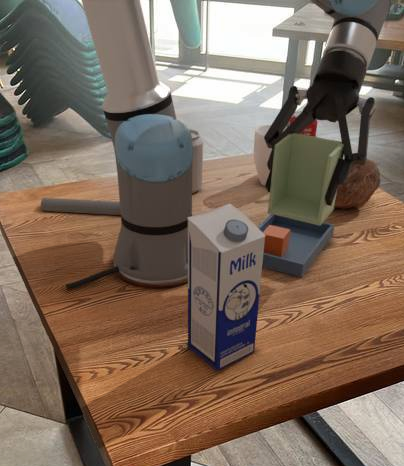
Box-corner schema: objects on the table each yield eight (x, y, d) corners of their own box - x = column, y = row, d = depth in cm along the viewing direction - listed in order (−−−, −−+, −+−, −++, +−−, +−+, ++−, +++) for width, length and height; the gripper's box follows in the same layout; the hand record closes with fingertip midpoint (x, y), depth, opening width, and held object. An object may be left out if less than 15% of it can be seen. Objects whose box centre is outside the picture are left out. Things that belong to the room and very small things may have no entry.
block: (269, 224, 102) (261, 233, 99) (290, 229, 101) (283, 238, 98) (267, 244, 105) (259, 254, 102) (288, 249, 103) (281, 259, 101)
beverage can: (310, 162, 139) (317, 110, 131) (311, 172, 134) (319, 119, 126) (284, 161, 139) (290, 109, 132) (284, 171, 134) (290, 117, 127)
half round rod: (136, 216, 114) (135, 208, 113) (40, 211, 115) (38, 202, 114) (139, 207, 117) (139, 199, 116) (46, 202, 118) (45, 194, 117)
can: (186, 179, 129) (186, 124, 122) (209, 189, 125) (210, 133, 118) (161, 187, 125) (159, 131, 118) (183, 198, 121) (183, 141, 114)
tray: (301, 277, 97) (303, 264, 95) (236, 260, 101) (237, 247, 100) (332, 236, 109) (334, 224, 107) (272, 222, 113) (274, 210, 111)
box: (283, 197, 98) (291, 132, 91) (333, 209, 95) (346, 142, 88) (267, 213, 93) (274, 145, 86) (320, 225, 90) (332, 156, 83)
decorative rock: (376, 198, 123) (387, 151, 117) (372, 220, 115) (383, 171, 108) (315, 190, 126) (322, 144, 120) (307, 210, 118) (314, 162, 111)
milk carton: (224, 329, 85) (231, 201, 72) (255, 351, 81) (267, 220, 68) (186, 347, 81) (186, 216, 69) (216, 371, 77) (222, 236, 65)
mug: (249, 188, 126) (252, 135, 119) (253, 174, 132) (257, 123, 125) (303, 193, 124) (311, 140, 117) (305, 179, 131) (312, 127, 123)
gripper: (413, 87, 90) (367, 219, 89) (283, 69, 98) (240, 191, 97) (415, 56, 83) (365, 199, 82) (275, 40, 91) (228, 171, 90)
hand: (298, 195), depth 90 cm, fingers closed on box, 9 cm apart
